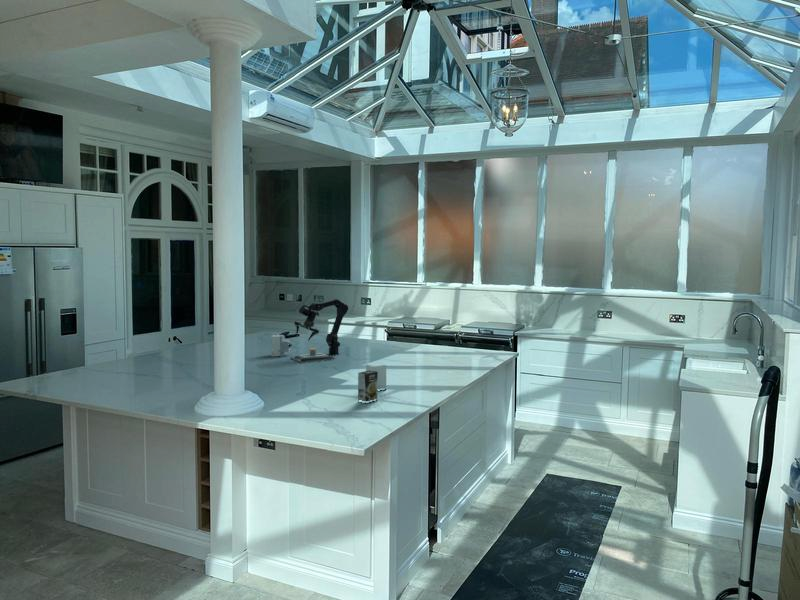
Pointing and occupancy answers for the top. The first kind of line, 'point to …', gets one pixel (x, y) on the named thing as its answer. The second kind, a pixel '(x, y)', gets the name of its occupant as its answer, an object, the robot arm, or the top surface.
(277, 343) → the circuit breaker
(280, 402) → the top surface
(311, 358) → the gray flat tray
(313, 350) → the breaker lever
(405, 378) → the top surface
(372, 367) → the supplement box
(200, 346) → the top surface
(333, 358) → the breaker panel
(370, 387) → the coffee box
